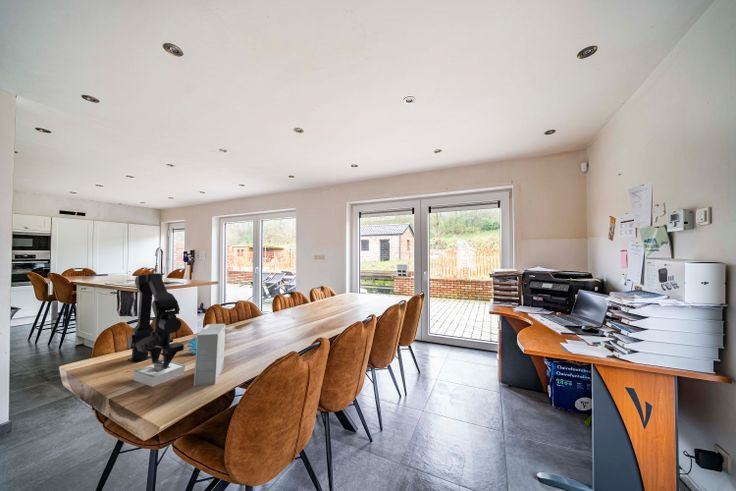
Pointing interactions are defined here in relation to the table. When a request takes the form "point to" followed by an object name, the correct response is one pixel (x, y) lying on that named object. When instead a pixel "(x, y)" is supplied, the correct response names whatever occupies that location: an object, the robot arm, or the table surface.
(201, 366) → the hard drive box
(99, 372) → the table surface
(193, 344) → the gear
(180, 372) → the jig
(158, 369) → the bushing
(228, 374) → the table surface
